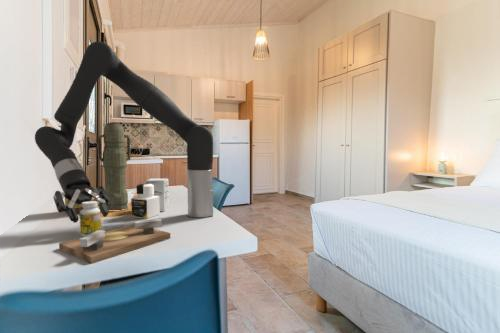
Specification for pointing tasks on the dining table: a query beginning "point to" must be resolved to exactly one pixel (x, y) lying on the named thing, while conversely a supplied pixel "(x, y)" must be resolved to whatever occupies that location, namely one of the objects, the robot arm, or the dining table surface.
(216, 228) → the dining table surface
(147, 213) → the medicine bottle
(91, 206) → the supplement bottle
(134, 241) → the shaft board
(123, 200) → the thermos
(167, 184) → the supplement box
